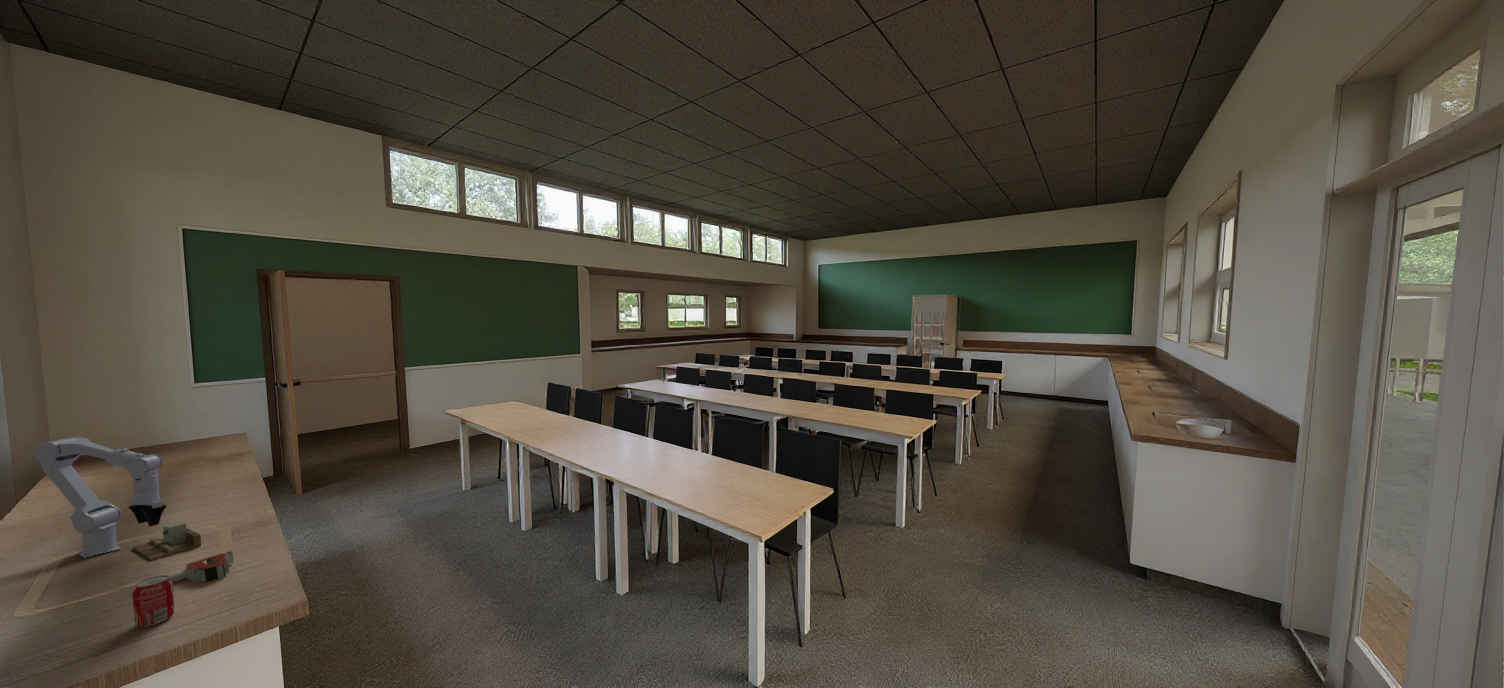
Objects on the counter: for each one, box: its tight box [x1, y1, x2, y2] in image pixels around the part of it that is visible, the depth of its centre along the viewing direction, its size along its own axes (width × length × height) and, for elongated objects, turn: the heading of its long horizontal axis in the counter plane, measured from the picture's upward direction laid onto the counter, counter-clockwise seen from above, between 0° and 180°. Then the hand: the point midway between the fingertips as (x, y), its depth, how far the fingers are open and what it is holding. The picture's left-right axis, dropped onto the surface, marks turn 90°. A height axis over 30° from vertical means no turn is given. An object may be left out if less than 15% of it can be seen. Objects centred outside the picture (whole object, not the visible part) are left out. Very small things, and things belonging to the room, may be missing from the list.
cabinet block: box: [162, 521, 187, 546], centre depth 178 cm, size 4×5×7 cm
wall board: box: [132, 527, 202, 561], centre depth 177 cm, size 20×12×4 cm, turn 64°
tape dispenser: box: [166, 550, 234, 583], centre depth 156 cm, size 18×5×20 cm
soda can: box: [132, 574, 175, 628], centre depth 133 cm, size 7×7×12 cm
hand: (148, 523), depth 176 cm, fingers open, 7 cm apart
